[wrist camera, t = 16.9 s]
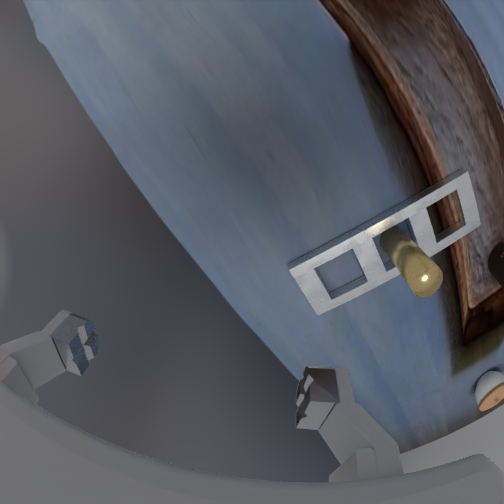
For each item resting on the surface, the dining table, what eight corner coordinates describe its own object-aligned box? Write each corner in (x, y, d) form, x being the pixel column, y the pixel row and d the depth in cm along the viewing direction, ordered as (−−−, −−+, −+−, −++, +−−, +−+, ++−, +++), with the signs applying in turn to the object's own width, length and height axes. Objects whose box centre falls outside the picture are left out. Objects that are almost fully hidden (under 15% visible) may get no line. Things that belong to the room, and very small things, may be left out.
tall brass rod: (399, 221, 35) (438, 259, 25) (408, 244, 37) (445, 286, 26) (376, 234, 37) (408, 276, 26) (385, 257, 38) (416, 303, 27)
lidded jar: (488, 363, 46) (502, 388, 38) (505, 365, 46) (518, 387, 38) (463, 391, 51) (474, 416, 42) (482, 391, 51) (493, 414, 43)
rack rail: (460, 168, 31) (467, 171, 29) (474, 220, 33) (480, 224, 32) (288, 263, 40) (288, 269, 38) (316, 307, 43) (317, 315, 41)
